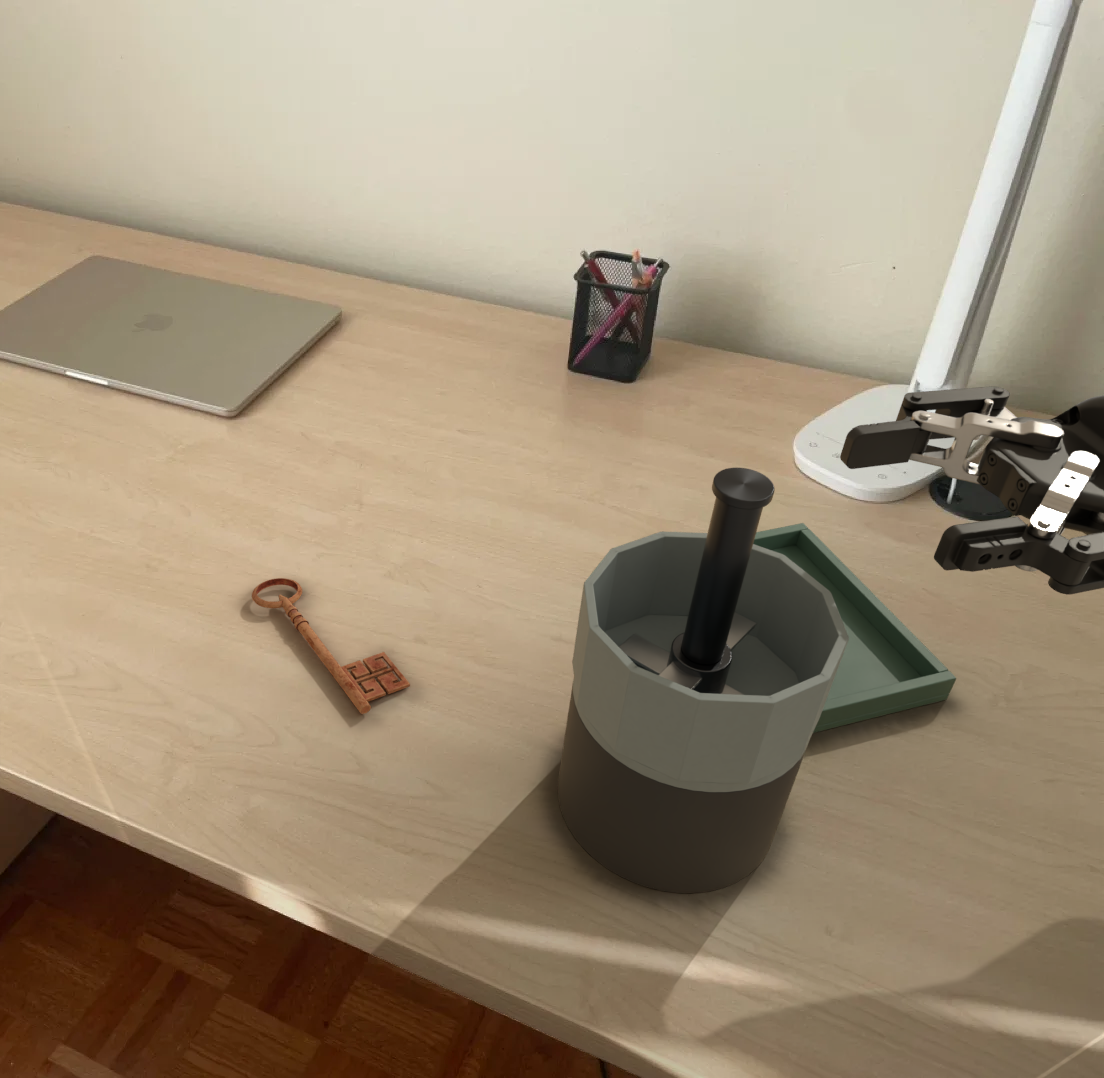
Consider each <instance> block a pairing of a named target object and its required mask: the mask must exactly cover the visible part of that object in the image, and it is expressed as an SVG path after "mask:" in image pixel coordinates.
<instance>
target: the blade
mask: <svg viewBox="0 0 1104 1078" xmlns="http://www.w3.org/2000/svg"><path fill="white" fill-rule="evenodd" d="M775 489H776V488H775V485H774V483H773V481H772V480H771V479H770V478H769V477H768V476H766V475H765V474H764V473H761V472H760V471H757V470H754V469H751V468H746V467H728V468H723V469H721V470H720V471H718V472H717V473H715V475H714V477H713V480H712V484H711V492H712V493H713V495H714V496H715V498H714V499H715V500H714V503H713V507H712V513H711V516H710V521H709V526H708V530H707V532H706V533H707V538H706V542H705V546H704V551H703V555H702V559H701V563H700V568H699V572H698V576H697V580H696V585H695V589H694V593H693V597H692V602H691V606H690V610H689V615H688V619H687V623H686V627H685V632H684V633H681V634H680V635H678V636H677V637H676V638H675V639H674V640H673V642H672V645H671V649H670V653H669V652H667V651H665V650H663V649H661V648H660V647H658V646H656V645H654V644H653V643H651V642H649V641H647V640H645V639H644V638H642V637H640V636H638V635H636V634H635V633H634V634H633V635H632V636H631V637H630V638H628V639H627V640H626V641H625V642H624V643H623V644H622V645H621V646H620V647H619V648H620V649H621V650H622V651H623V652H624V653H625V654H626V655H627V656H628V657H629V658H630V659H631V660H632V661H633V662H635V663H637V664H638V665H640V666H642V667H643V668H645V669H647V670H649V671H650V672H652V673H654V674H656V675H659V676H661V677H664V678H666V679H668V680H671V681H673V682H675V683H678V684H680V685H682V686H685V687H687V688H690V689H692V690H694V691H697V692H699V693H711V694H735V695H744V694H742V693H740V692H738V691H737V690H735V689H733V688H731V687H729V686H728V685H726V684H725V683H726V680H727V676H728V672H729V669H730V665H731V662H732V652H731V651H732V650H733V649H734V647H735V646H736V645H737V644H738V643H739V642H740V641H741V640H742V639H743V638H744V637H745V636H746V635H747V634H748V633H749V632H750V631H751V630H752V629H753V628H754V627H755V626H756V623H755V622H753V621H751V620H749V619H747V618H745V617H743V616H741V615H739V614H737V613H735V609H736V605H737V602H738V598H739V594H740V591H741V587H742V583H743V580H744V576H745V572H746V569H747V565H748V561H749V557H750V554H751V550H752V546H753V543H754V539H755V535H756V532H758V527H759V524H760V520H761V517H762V513H763V509H764V508H765V507H766V506H768V505H770V503H772V501H773V498H774V494H775Z"/></svg>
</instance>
